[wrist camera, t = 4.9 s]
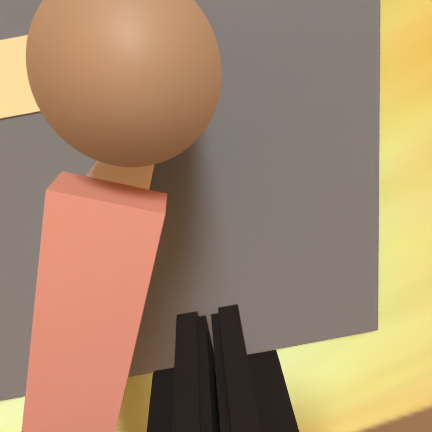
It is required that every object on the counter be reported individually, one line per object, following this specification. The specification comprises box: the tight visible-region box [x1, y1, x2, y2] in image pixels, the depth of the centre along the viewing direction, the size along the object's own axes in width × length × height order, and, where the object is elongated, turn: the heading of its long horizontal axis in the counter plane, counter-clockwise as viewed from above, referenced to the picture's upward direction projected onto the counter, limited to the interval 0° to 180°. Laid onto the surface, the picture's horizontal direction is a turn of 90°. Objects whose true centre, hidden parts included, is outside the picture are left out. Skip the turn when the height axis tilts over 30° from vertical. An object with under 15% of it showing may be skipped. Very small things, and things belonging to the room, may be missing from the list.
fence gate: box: [22, 160, 167, 432], centre depth 11 cm, size 10×2×8 cm, turn 165°
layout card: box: [0, 0, 380, 401], centre depth 13 cm, size 20×26×1 cm
